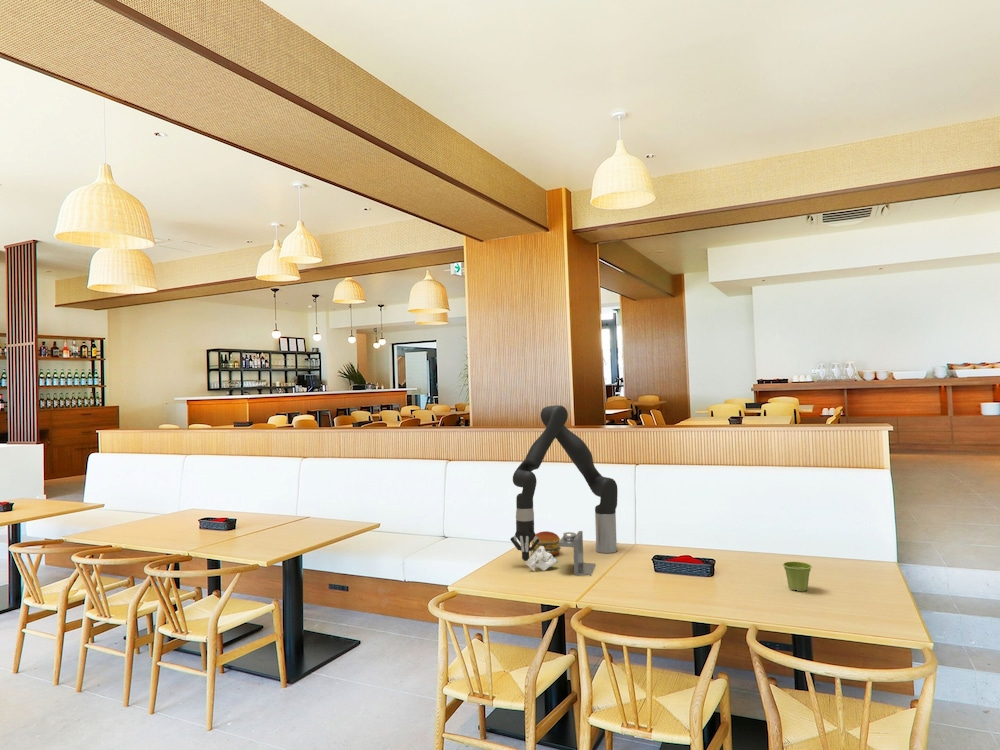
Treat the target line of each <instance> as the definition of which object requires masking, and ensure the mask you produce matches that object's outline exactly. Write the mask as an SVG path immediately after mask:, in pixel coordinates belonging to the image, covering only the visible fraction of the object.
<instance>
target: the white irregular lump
mask: <svg viewBox="0 0 1000 750" xmlns="http://www.w3.org/2000/svg"><path fill="white" fill-rule="evenodd" d="M551 555H552V554H550V553H548V552H546V551H545V548H544V546H539V547H538V548H537V549H536V550H535V551H534V552H533V551H532V553H531V555H529V559H528V561H525V563H524V564H525V565H526V566H528V567H529V569H531V570H532V571H533V572H536V569H540V570H541V571H543V572H545V571H546V570H548V569H549V568H550V567H552V566H554V565H555V564H556V563H557V564H558V559H556V557H554V555H553V556H551Z"/></svg>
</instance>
